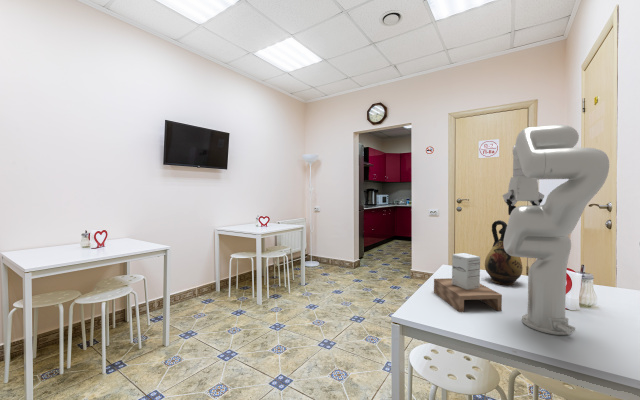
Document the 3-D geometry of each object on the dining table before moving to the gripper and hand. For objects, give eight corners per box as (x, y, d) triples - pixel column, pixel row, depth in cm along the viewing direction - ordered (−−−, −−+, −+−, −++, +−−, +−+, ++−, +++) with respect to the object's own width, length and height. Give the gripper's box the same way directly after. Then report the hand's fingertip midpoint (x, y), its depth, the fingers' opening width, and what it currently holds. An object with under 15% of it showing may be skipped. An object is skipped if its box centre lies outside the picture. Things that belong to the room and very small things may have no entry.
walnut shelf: (501, 310, 102) (501, 294, 102) (459, 312, 101) (460, 295, 101) (469, 291, 122) (469, 278, 122) (433, 292, 121) (434, 278, 121)
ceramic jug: (530, 285, 130) (531, 221, 130) (508, 289, 125) (509, 223, 124) (495, 275, 146) (496, 218, 145) (474, 278, 140) (475, 219, 140)
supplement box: (451, 284, 113) (451, 253, 113) (464, 282, 116) (465, 252, 116) (466, 290, 106) (467, 257, 106) (480, 288, 109) (480, 256, 109)
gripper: (535, 174, 118) (535, 214, 119) (497, 174, 117) (496, 214, 117) (551, 173, 111) (550, 215, 111) (511, 173, 109) (510, 216, 110)
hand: (523, 215), depth 114 cm, fingers open, 9 cm apart
